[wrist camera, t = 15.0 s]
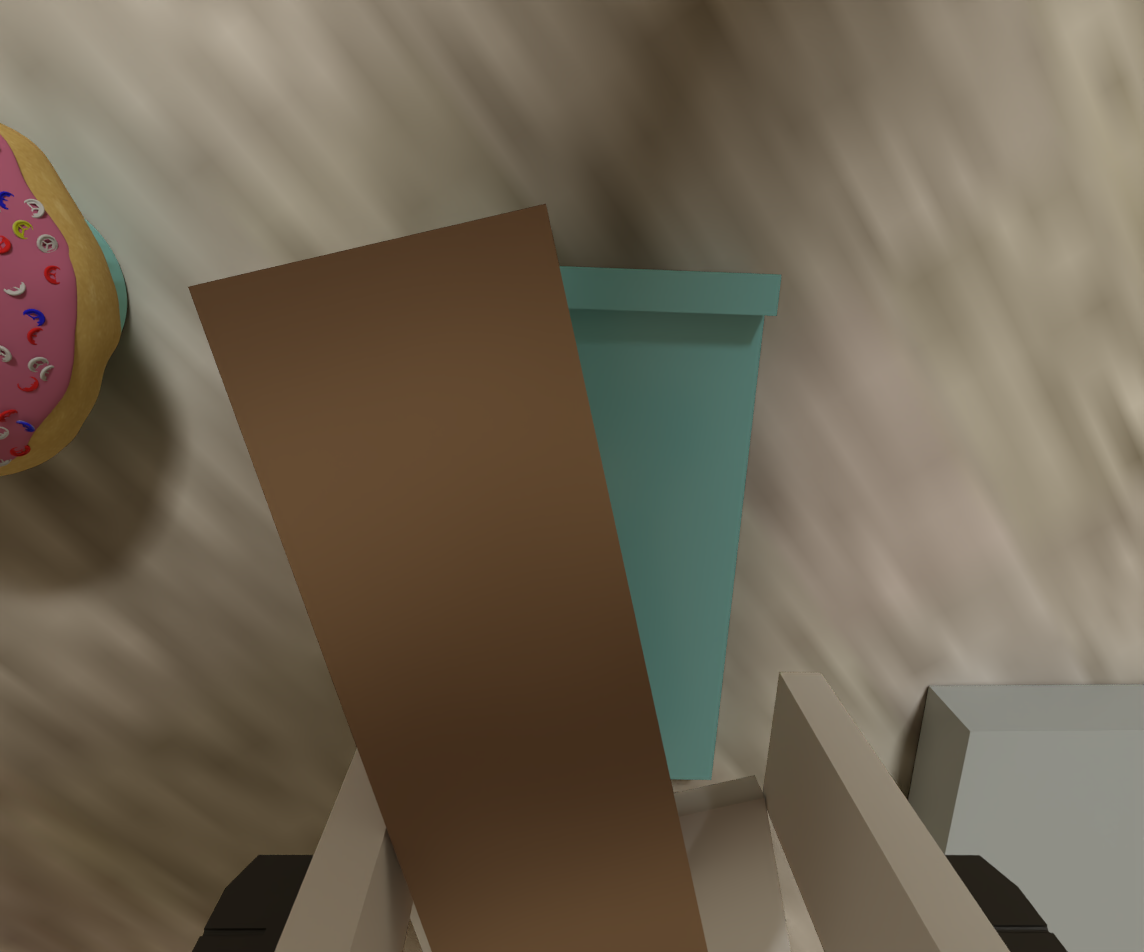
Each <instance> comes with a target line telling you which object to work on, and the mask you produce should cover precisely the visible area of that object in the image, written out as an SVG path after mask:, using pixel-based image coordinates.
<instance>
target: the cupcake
mask: <svg viewBox="0 0 1144 952" xmlns="http://www.w3.org/2000/svg"><path fill="white" fill-rule="evenodd" d="M126 312H127V293H126V286H125V281H124V277H123V274H122V271H121V268H120V266H119V263H118V261H117V259H116V257H115V255H114V253H113V252H112V250H111V248H110V247H109V245H108V244H107V242H106V241H105V240H104V238H103V237H102V236H101V235H100V233H99V232H98V231H97V230H96V229H95V228H94V227H93V226H92V225H91V224H90V223H89V222H88V221H87V220H86V219H84V217H83V216H82V214H81V212H80V210H79V209H78V207H77V206H76V204H75V202H74V201H73V199H72V197H71V196H70V194H69V193H68V191H67V189H66V188H65V186H64V184H63V183H62V181H61V179H60V178H59V176H58V174H57V173H56V171H55V169H54V168H53V166H52V164H51V163H50V161H49V160H48V158H47V157H46V156H45V154H44V153H43V152H42V151H41V150H40V149H39V148H38V147H37V146H36V145H35V144H34V143H33V142H32V141H30V140H29V139H28V138H26V137H25V136H23V135H22V134H20V133H19V132H17V131H15V130H13V129H11V128H9V127H7V126H5V125H3V124H1V123H0V476H4V475H9V474H14V473H17V472H21V471H24V470H27V469H30V468H32V467H35V466H37V465H39V464H42V463H44V462H46V461H47V460H49V459H51V458H52V457H53V456H55V455H56V454H57V453H59V452H60V451H61V450H62V449H63V448H64V447H66V446H67V445H68V444H69V443H70V442H71V441H72V440H73V439H74V438H75V436H76V435H77V433H78V432H79V430H80V428H81V426H82V425H83V423H84V421H85V420H86V418H87V416H88V415H89V413H90V412H91V410H92V408H93V406H94V404H95V402H96V400H97V398H98V395H99V392H100V388H101V383H102V377H103V373H104V370H105V367H106V364H107V362H108V360H109V358H110V356H111V355H112V353H113V352H114V350H115V349H116V347H117V345H118V343H119V340H120V336H121V332H122V330H123V326H124V323H125V319H126Z"/></svg>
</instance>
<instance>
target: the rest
mask: <svg viewBox="0 0 1144 952" xmlns="http://www.w3.org/2000/svg"><path fill="white" fill-rule="evenodd" d="M559 267H560V272H561V276H562V281H563V285H564V290H565V295H566V299H567V304H568V308H569V313H570V318H571V322H572V327H573V332H574V336H575V341H576V345H577V350H578V355H579V359H580V364H581V368H582V373H583V378H584V382H585V387H586V391H587V396H588V401H589V405H590V410H591V415H592V419H593V424H594V428H595V433H596V438H597V442H598V447H599V451H600V456H601V461H602V465H603V470H604V474H605V479H606V484H607V488H608V493H609V498H610V502H611V507H612V511H613V516H614V521H615V525H616V530H617V534H618V539H619V544H620V548H621V553H622V557H623V562H624V567H625V571H626V576H627V581H628V585H629V590H630V594H631V599H632V604H633V608H634V613H635V617H636V622H637V627H638V631H639V636H640V641H641V645H642V650H643V654H644V659H645V664H646V668H647V673H648V677H649V682H650V687H651V691H652V696H653V700H654V705H655V710H656V714H657V719H658V724H659V728H660V733H661V737H662V742H663V747H664V751H665V756H666V760H667V765H668V770H669V774H670V779H685V780H711V777H712V768H713V760H714V751H715V742H716V734H717V725H718V716H719V707H720V699H721V690H722V681H723V673H724V664H725V655H726V647H727V638H728V629H729V620H730V612H731V603H732V594H733V586H734V577H735V568H736V559H737V551H738V542H739V533H740V525H741V516H742V507H743V499H744V490H745V481H746V472H747V464H748V455H749V446H750V438H751V429H752V420H753V412H754V403H755V394H756V385H757V377H758V368H759V359H760V351H761V342H762V333H763V325H764V316H765V315H767V316H777V308H778V300H779V292H780V283H781V275H778V274H752V273H726V272H700V271H674V270H648V269H622V268H596V267H570V266H559Z"/></svg>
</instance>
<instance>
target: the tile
mask: <svg viewBox="0 0 1144 952" xmlns="http://www.w3.org/2000/svg"><path fill="white" fill-rule="evenodd" d="M908 802H909V803H910V805H911V806H912V808H913V809H914V811H915V812H916V814H917V815H918V817H919V818H920V820H921V821H922V823H923V824H924V825H925V827H926V828H927V830H928V831H929V833H930V834H931V836H932V837H933V839H934V840H935V842H936V843H937V845H938V846H939V848H940V849H941V851H942V852H943V853H944V855H980V856H981V857H982V858H984V859H985V860H986V861H987V862H989V863H990V864H991V865H992V866H993V867H995V868H996V869H997V870H998V871H999V872H1001V873H1002V874H1003V875H1004V876H1006V877H1007V878H1008V879H1009V880H1010V881H1012V882H1013V883H1014V884H1015V885H1016V886H1018V887H1019V889H1020V890H1021V891H1022V892H1023V894H1024V895H1025V896H1026V898H1027V899H1028V900H1029V902H1030V903H1031V904H1032V906H1033V907H1034V908H1035V910H1036V911H1037V912H1038V913H1039V915H1040V916H1041V917H1042V919H1043V920H1044V921H1045V923H1046V924H1047V928H1048V931H1049V932H1050V933H1054V934H1055V936H1056V937H1057V938H1058V940H1059V941H1060V942H1061V944H1062V945H1063V946H1064V947H1065V949H1066V950H1067V951H1068V952H1144V684H1140V685H988V686H929V689H928V694H927V700H926V705H925V711H924V716H923V722H922V727H921V733H920V738H919V743H918V749H917V754H916V760H915V765H914V771H913V776H912V782H911V787H910V792H909V798H908Z"/></svg>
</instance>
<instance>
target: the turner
mask: <svg viewBox="0 0 1144 952" xmlns="http://www.w3.org/2000/svg"><path fill="white" fill-rule="evenodd" d="M188 288H189V290H190V293H191V296H192V299H193V301H194V304H195V307H196V310H197V312H198V315H199V318H200V321H201V323H202V326H203V329H204V331H205V334H206V337H207V340H208V342H209V345H210V348H211V351H212V353H213V356H214V359H215V361H216V364H217V367H218V370H219V372H220V375H221V378H222V381H223V383H224V386H225V389H226V391H227V394H228V397H229V400H230V402H231V405H232V408H233V411H234V413H235V416H236V419H237V422H238V424H239V427H240V430H241V432H242V435H243V438H244V441H245V443H246V446H247V449H248V452H249V454H250V457H251V460H252V462H253V465H254V468H255V471H256V473H257V476H258V479H259V482H260V484H261V487H262V490H263V492H264V495H265V498H266V501H267V503H268V506H269V509H270V512H271V514H272V517H273V520H274V522H275V525H276V528H277V531H278V533H279V536H280V539H281V542H282V544H283V547H284V550H285V553H286V555H287V558H288V561H289V563H290V566H291V569H292V572H293V574H294V577H295V580H296V583H297V585H298V588H299V591H300V593H301V596H302V599H303V602H304V604H305V607H306V610H307V613H308V615H309V618H310V621H311V623H312V626H313V629H314V632H315V634H316V637H317V640H318V643H319V645H320V648H321V651H322V654H323V656H324V659H325V662H326V664H327V667H328V670H329V673H330V675H331V678H332V681H333V684H334V686H335V689H336V692H337V694H338V697H339V700H340V703H341V705H342V708H343V711H344V714H345V716H346V719H347V722H348V724H349V727H350V730H351V733H352V735H353V738H354V741H355V744H356V746H357V749H358V752H359V755H360V757H361V760H362V763H363V765H364V768H365V771H366V774H367V776H368V779H369V782H370V785H371V787H372V790H373V793H374V795H375V798H376V801H377V804H378V806H379V809H380V812H381V815H382V817H383V820H384V823H385V825H386V828H387V831H388V834H389V836H390V839H391V842H392V845H393V847H394V850H395V853H396V855H397V858H398V861H399V864H400V866H401V869H402V872H403V875H404V877H405V880H406V883H407V886H408V888H409V891H410V894H411V896H412V899H413V905H412V910H411V914H410V919H411V922H412V924H413V927H414V930H415V933H416V935H417V938H418V941H419V943H420V946H421V949H422V951H423V952H791V948H790V943H789V937H788V931H787V925H786V919H785V913H784V908H783V902H782V896H781V890H780V884H779V879H778V873H777V867H776V861H775V855H774V849H773V844H772V838H771V832H770V826H769V820H768V815H767V809H766V803H765V798H764V795H763V793H762V791H761V789H760V786H759V784H758V782H757V780H756V777H755V775H754V776H749V777H745V778H740V779H736V780H731V781H727V782H722V783H718V784H713V785H709V786H704V787H700V788H695V789H691V790H686V791H682V792H677V793H673V788H672V783H671V779H670V774H669V770H668V765H667V760H666V756H665V751H664V747H663V742H662V737H661V733H660V728H659V724H658V719H657V714H656V710H655V705H654V700H653V696H652V691H651V687H650V682H649V677H648V673H647V668H646V664H645V659H644V654H643V650H642V645H641V641H640V636H639V631H638V627H637V622H636V617H635V613H634V608H633V604H632V599H631V594H630V590H629V585H628V581H627V576H626V571H625V567H624V562H623V557H622V553H621V548H620V544H619V539H618V534H617V530H616V525H615V521H614V516H613V511H612V507H611V502H610V498H609V493H608V488H607V484H606V479H605V474H604V470H603V465H602V461H601V456H600V451H599V447H598V442H597V438H596V433H595V428H594V424H593V419H592V415H591V410H590V405H589V401H588V396H587V391H586V387H585V382H584V378H583V373H582V368H581V364H580V359H579V355H578V350H577V345H576V341H575V336H574V332H573V327H572V322H571V318H570V313H569V308H568V304H567V299H566V295H565V290H564V285H563V281H562V276H561V272H560V267H559V262H558V258H557V253H556V249H555V244H554V239H553V235H552V230H551V225H550V221H549V216H548V212H547V207H546V204H543V205H538V206H534V207H530V208H525V209H521V210H517V211H513V212H508V213H504V214H500V215H495V216H491V217H487V218H482V219H478V220H474V221H470V222H465V223H461V224H457V225H452V226H448V227H444V228H439V229H435V230H431V231H426V232H422V233H418V234H414V235H409V236H405V237H401V238H396V239H392V240H388V241H383V242H379V243H375V244H370V245H366V246H362V247H358V248H353V249H349V250H345V251H340V252H336V253H332V254H327V255H323V256H319V257H314V258H310V259H306V260H302V261H297V262H293V263H289V264H284V265H280V266H276V267H271V268H267V269H263V270H258V271H254V272H250V273H246V274H241V275H237V276H233V277H228V278H224V279H220V280H215V281H211V282H207V283H203V284H198V285H194V286H190V287H188Z"/></svg>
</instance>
